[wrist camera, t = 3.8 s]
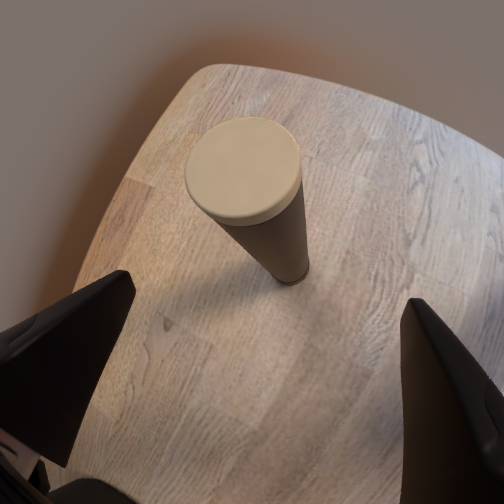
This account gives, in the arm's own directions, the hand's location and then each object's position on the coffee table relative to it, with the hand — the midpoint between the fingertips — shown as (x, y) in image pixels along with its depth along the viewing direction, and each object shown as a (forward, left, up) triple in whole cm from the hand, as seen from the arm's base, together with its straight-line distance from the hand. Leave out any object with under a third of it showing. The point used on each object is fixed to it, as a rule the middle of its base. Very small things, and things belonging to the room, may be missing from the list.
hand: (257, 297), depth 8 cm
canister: (+2, +1, -10) cm, 10 cm away
